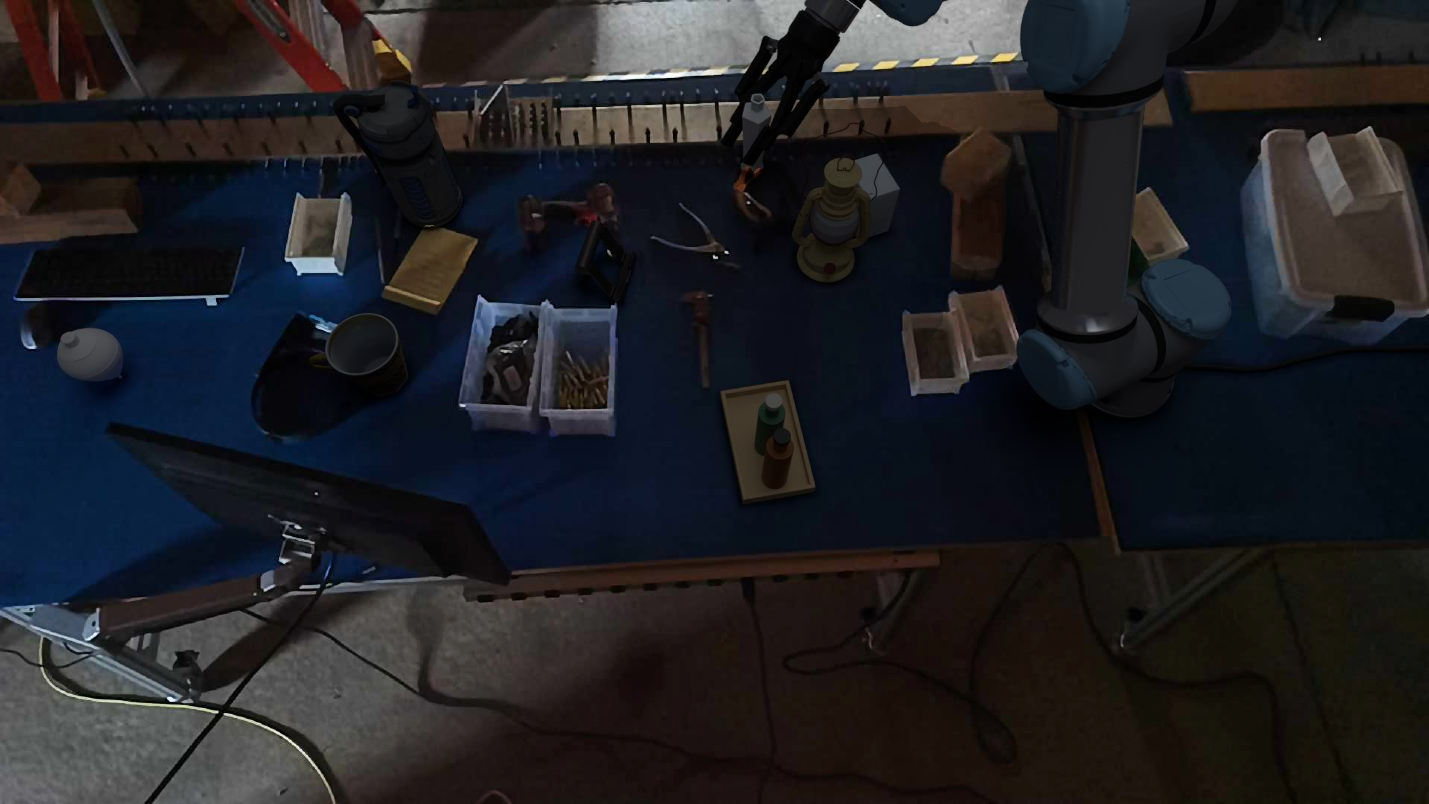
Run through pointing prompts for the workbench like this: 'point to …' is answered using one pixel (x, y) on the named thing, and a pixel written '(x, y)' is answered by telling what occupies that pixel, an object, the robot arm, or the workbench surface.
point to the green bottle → (768, 421)
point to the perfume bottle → (754, 125)
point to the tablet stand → (589, 268)
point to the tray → (742, 431)
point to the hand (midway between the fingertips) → (736, 154)
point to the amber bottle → (777, 459)
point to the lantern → (833, 220)
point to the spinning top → (90, 355)
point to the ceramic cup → (366, 354)
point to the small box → (878, 193)
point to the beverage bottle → (404, 150)
